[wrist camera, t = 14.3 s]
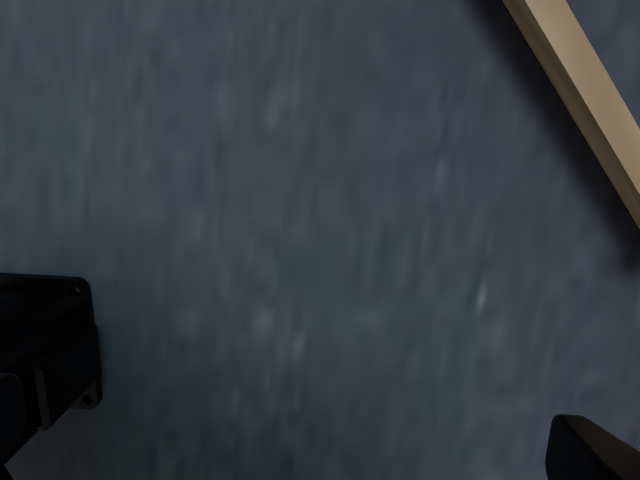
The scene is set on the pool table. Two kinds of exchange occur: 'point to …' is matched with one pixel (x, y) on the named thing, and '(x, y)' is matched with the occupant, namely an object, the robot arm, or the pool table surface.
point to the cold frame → (584, 91)
